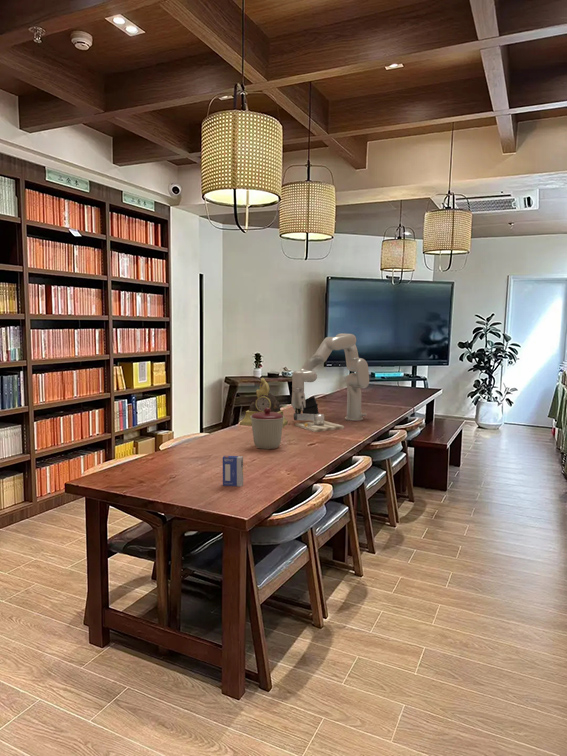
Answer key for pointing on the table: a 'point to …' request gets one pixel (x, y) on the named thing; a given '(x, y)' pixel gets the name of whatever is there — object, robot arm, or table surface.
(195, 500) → the table surface
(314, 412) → the black box
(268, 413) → the canister
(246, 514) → the table surface
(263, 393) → the decorative clock
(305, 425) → the dial base
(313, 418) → the capstan lever
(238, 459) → the walkman
